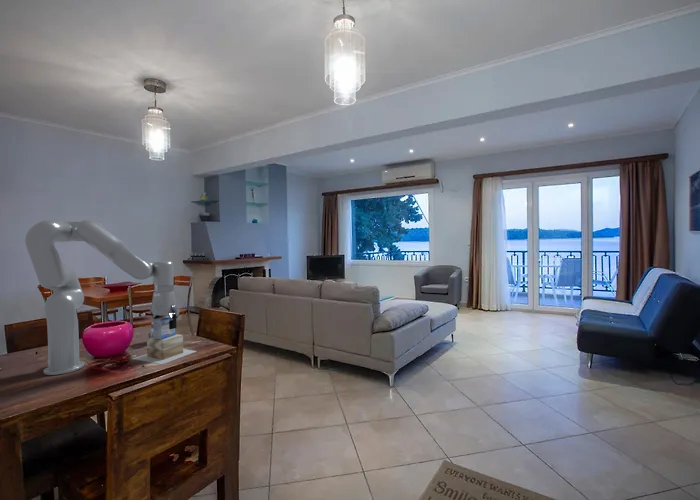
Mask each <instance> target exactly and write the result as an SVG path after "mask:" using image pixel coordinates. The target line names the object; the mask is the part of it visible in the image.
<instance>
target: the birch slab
mask: <svg viewBox="0 0 700 500" xmlns="http://www.w3.org/2000/svg"><path fill="white" fill-rule="evenodd" d="M181 344H183V345H184V335H183V334H177V333H175V335H173V336H170V337H167V338H164V339H154V338H153V337H151V338H149V337H148V338H146V349H147V348H151V349H157V350H166V349H169V348H172V347H175V346H178V345H181Z"/></svg>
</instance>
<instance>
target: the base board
mask: <svg viewBox="0 0 700 500" xmlns="http://www.w3.org/2000/svg"><path fill="white" fill-rule="evenodd" d="M196 352H197V350H191V349H185V348H183V353H181V354H178V355H176V356H173V357H170V358H167V359H164V360H162V359H156V358H150V357H147V353H145V354H143V355H142V354H141V355H139V356H136V357H134V358H132V360H136V361H141V362H147V363H153V364H159V365H164V364H166V363H169V362H172V361H174V360H176V359H179V358H183V357H185V356H187V355H190V354H194V353H196Z"/></svg>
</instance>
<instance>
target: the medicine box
mask: <svg viewBox="0 0 700 500" xmlns="http://www.w3.org/2000/svg"><path fill="white" fill-rule="evenodd" d="M160 317H161V318H157V319H154V318H152V322H153V338H154V339H164V338H167V337H170V336H173V335H175V334H176V328H174V329H169V320H170V318H169V317H168V315H167V316H160Z"/></svg>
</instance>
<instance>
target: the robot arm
mask: <svg viewBox="0 0 700 500" xmlns="http://www.w3.org/2000/svg"><path fill="white" fill-rule="evenodd" d="M24 240H25V241H24V242H25V248H26V250H27V253H28V256H29V259H30V260H31V264H32V267H33V269H34V272H35V276H36V277H37V280H38V283H39V284H40V286H41V287H43V288H44V289H48V290H52V292H53V293H52V294H51V295H50V296H48V297H47V299H46V300H45V303H44V313H45V314H44V315H45V319H46V326H47V327H46V329H47V350H48V351H47V352H48V355H47V357H48V359H47V360H46V362H47V363H48V366H47V367H46V368H44V369H43V375H47V376H55V375H56V376H58V375H63V374H64V375H65V374H68V373H72V372H76V371H78V370H81V369H82V368H83V367H84V366H85V362H84V361H81V360H80V341H79V340H80V337H79V319H78V313H77V310H78V309H79V308H80V307H82V305H83V304H84V302H85V295H84V292H83V290H82V289H83V288H82V286H81V284H80V280H79V278H78V275H77V273H76V272H75V270H74V268H72V267H71V266H70V265H67V264H63V262H62V259H61V257H60V253H59V251H58V249H57V248H56V245H55V243H57V242H59V243H61V242H62V243H63V242H85V243H86V244H87V245H88V246H90V247H92V248H93V249H95V250H96V251H98V252H99V253H100V254H102V255H104V257H106V259H108V260H109V261H111V263H113V264H114V265H116V266H117V267H118V268H119V269H121V270H122V271H123V272H125V273H126V274H127V275H129V276H131V277H132V278H134V279H136V280H139V281H142V280H143V281H144V280H147V279H148V278H153V281H154V282H153V285H154V287H153V288H154V292H153V294H152V300H151V307H149V311H150V315H151V316H152V319H157V318H161V317H165V316H168V317H169V318H170V320H169V329H174V328H175V329H177V320H178V317H179V316H180V312H181V310H180V309H179V308H178V307H177V303H176V294H175V288H174V286H175V285H174V284H175V282H174V263H173V261H170V260H163V261H162V260H160V261H150V260H148V261H147V260H142V259H141V258H140V257H139V256H137V255H136V254H134V253H133V252H132V251H131V250H129V248H128V247H127V246H126V244H125V242H124V241H122V240H121V239H120V238H118V237H117V236H116V235H114V234H112V233H111V231H108V230H107V229H106V228H105V226H104V225H103V224H102V223H100V221H99V222H98V221H97V220H92V219H83V220H81V221H62V220H55V219H45V220H41V221H39V222H37V223H35V224H34V225H32V226H31V227H30V228H29V229H28V231H27V232H26V235H25V239H24Z"/></svg>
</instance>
